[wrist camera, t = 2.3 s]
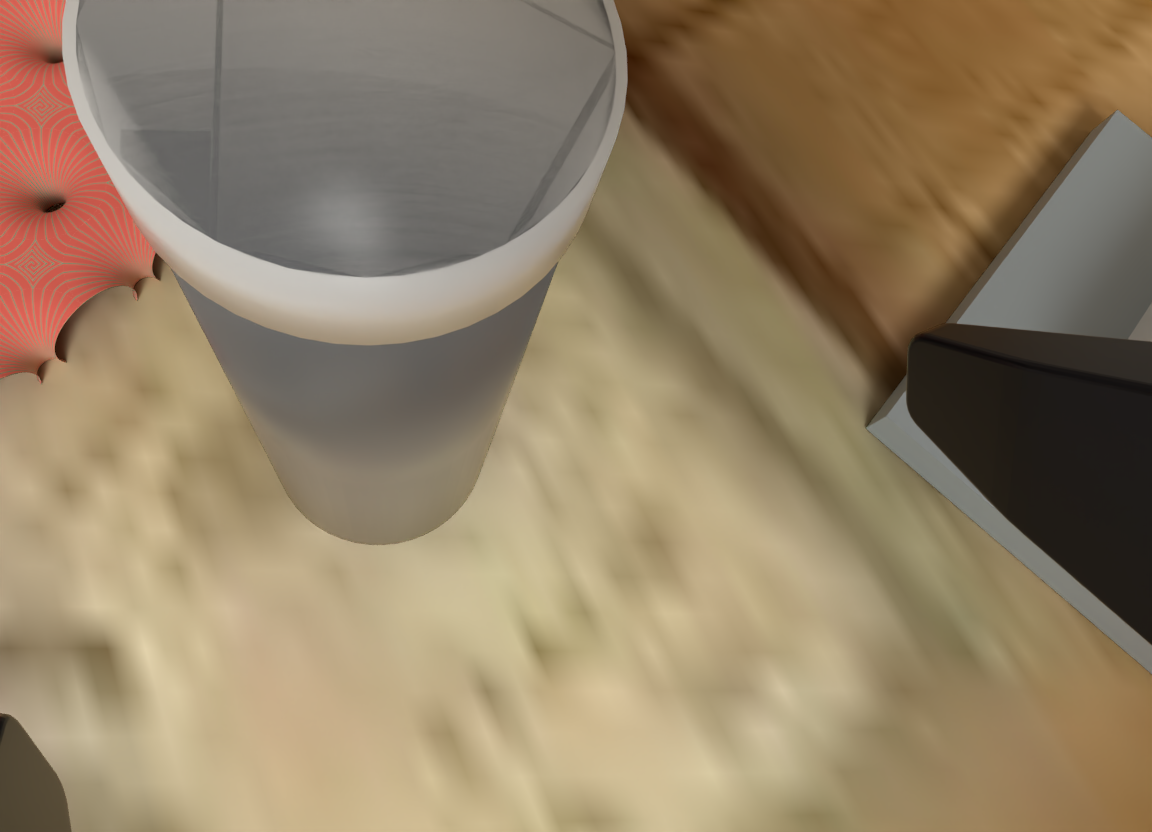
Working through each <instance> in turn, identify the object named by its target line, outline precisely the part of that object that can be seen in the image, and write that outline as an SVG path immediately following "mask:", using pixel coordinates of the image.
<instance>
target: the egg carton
mask: <svg viewBox="0 0 1152 832" xmlns="http://www.w3.org/2000/svg"><path fill="white" fill-rule="evenodd" d="M65 3H66V0H0V379H2V378H4V377H7V376H9V375H12V374H16V373H22V372H30V373H34V374H36V375H37V371H38V369H39V367H40V366H41V364H42V363H44V362H45V361H47V360H49V359H58V358H57V356H56V354H55V343H56V339H57V337H58V334H59V332H60V330H61V329H62V327H63V325H64V324H65V323H66V321H67V320H68V319H69V317H70V316H71V315H72V314H73V313H74V312H75V311H76V310H77V309H78V308H79V307H80V306H81V305H82V304H84V303H85V302H86V301H87V300H89V299H90V298H92V297H93V296H95V295H96V294H98V293H100V292H102V291H104V290H106V289H109V288H112V287H116V286H129V287H131V288H134V285H135V284H136V283H137V282H138V281H139V280H140V279H142V278H145V277H154V278H155V276H154V274H153V271H152V264H153V259H154V256H155V254H156V252H155V251H154V249H153V248H152V247H151V245H150V244H149V243H148V241H147V240H146V239H145V237H144V236H143V234H142V233H141V232H140V230H139V229H138V228H137V226H136V224H135V223H134V221H133V219H132V217H131V215H130V213H129V212H128V210H127V208H126V206H125V204H124V202H123V200H122V199H121V197H120V195H119V193H118V191H117V189H116V188H115V186H114V184H113V182H112V180H111V178H110V176H109V175H108V173H107V171H106V169H105V167H104V165H103V164H102V162H101V160H100V158H99V156H98V154H97V152H96V151H95V149H94V147H93V145H92V143H91V141H90V139H89V137H88V135H87V134H86V132H85V130H84V128H83V126H82V124H81V122H80V120H79V118H78V115H77V112H76V109H75V106H74V103H73V100H72V98H71V95H70V92H69V89H68V85H67V79H66V73H65V67H64V61H63V55H62V20H63V14H64V9H65ZM59 203H65V204H64V205H63V206H62V207H61V208H60V209H58V210H56V211H54V212H49V213H46V211H47V210H48V209H49V208H50V207H51V206H53V205H55V204H59ZM156 279H157V278H156ZM158 280H159V279H158ZM133 295H134V298H135V299H136V300H137V301H138V298H137V293H136V291H135V290H134V289H133ZM59 360H61V361H63V362H66V361H64V360H62V359H59ZM37 378H38V381H39V382H40V383H41V380H40V378H39V377H38V376H37ZM41 384H42V383H41Z"/></svg>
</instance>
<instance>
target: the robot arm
mask: <svg viewBox="0 0 1152 832" xmlns="http://www.w3.org/2000/svg"><path fill="white" fill-rule="evenodd" d="M906 405H907V409H908V412H909V414H910V416H911V418H912V420H913V421H914V423H915V424H916V425H917V426H918V427H919V428H920V429H921V430H922V431H923V433H924V434H925V435H926V436H927V437H928V438H929V439H930V440H931V441H932V442H933V443H934V444H935V445H936V446H937V447H938V448H939V449H940V450H941V451H942V453H943V454H944V455H945V456H946V457H947V458H948V459H949V460H950V461H951V462H952V463H953V464H954V465H955V466H956V467H957V468H958V469H959V470H960V472H961V473H962V474H963V475H964V476H965V477H966V478H967V479H968V480H969V481H970V482H971V483H972V484H973V485H974V486H975V487H976V488H977V489H978V491H979V492H980V493H981V494H982V495H983V496H984V497H985V498H986V499H987V500H988V501H989V502H990V503H991V504H992V505H993V506H994V507H995V508H996V509H997V510H998V511H999V512H1000V513H1001V514H1002V515H1003V516H1004V517H1005V518H1006V519H1007V520H1008V521H1009V522H1010V523H1011V524H1012V525H1013V526H1015V527H1016V528H1017V529H1018V530H1019V531H1020V532H1021V533H1022V534H1023V535H1025V536H1026V537H1027V538H1028V539H1029V540H1030V541H1031V542H1033V543H1034V544H1035V545H1036V546H1037V547H1038V548H1040V549H1041V550H1042V551H1043V552H1044V553H1045V554H1046V555H1048V556H1049V557H1050V558H1051V559H1052V560H1053V561H1055V562H1056V563H1057V564H1058V565H1059V566H1060V567H1061V568H1063V569H1064V570H1065V571H1066V572H1067V573H1068V574H1070V575H1071V576H1072V577H1073V578H1074V579H1075V580H1076V581H1078V582H1079V583H1080V584H1081V585H1082V586H1083V587H1085V588H1086V589H1087V590H1088V591H1089V592H1090V593H1091V594H1093V595H1094V596H1095V597H1096V598H1097V599H1098V600H1100V601H1101V602H1102V603H1103V604H1104V605H1105V606H1106V607H1108V608H1109V609H1110V610H1111V611H1112V612H1113V613H1115V614H1116V615H1117V616H1118V617H1119V618H1120V619H1121V620H1123V621H1124V622H1125V623H1126V624H1127V625H1128V626H1130V627H1131V628H1132V629H1133V630H1134V631H1135V632H1137V633H1138V634H1139V635H1140V636H1141V637H1142V638H1143V639H1145V640H1146V641H1147V642H1148V643H1149V644H1150V645H1152V342H1151V341H1140V340H1129V339H1119V338H1108V337H1097V336H1086V335H1076V334H1065V333H1054V332H1043V331H1032V330H1022V329H1011V328H1000V327H989V326H979V325H968V324H957V323H945V324H941V325H938V326H936V327H933V328H931V329H928V330H926V331H924V332H921V333H919V334H917V335H915V336H914V337H913V338H912V339H911V342H910V344H909V346H908V354H907V383H906ZM0 832H72V831H71V824H70V818H69V811H68V804H67V799H66V796H65V792H64V789H63V786H62V784H61V782H60V780H59V778H58V776H57V774H56V773H55V771H54V770H53V768H52V767H51V766H50V764H49V763H48V762H47V760H46V759H45V757H44V756H43V755H42V753H41V752H40V750H39V749H38V748H37V746H36V745H35V744H34V742H33V741H32V739H31V738H30V737H29V735H28V734H27V733H26V731H25V730H24V728H23V727H22V726H21V724H20V723H19V722H18V721H17V720H16V719H15V718H13V717H12V716H11V715H9V714H2V713H0Z"/></svg>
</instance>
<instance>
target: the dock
mask: <svg viewBox="0 0 1152 832" xmlns="http://www.w3.org/2000/svg"><path fill="white" fill-rule="evenodd" d="M946 323H957V324H968V325H979V326H989V327H1000V328H1011V329H1022V330H1032V331H1043V332H1054V333H1065V334H1076V335H1086V336H1097V337H1108V338H1119V339H1129V340H1140V341H1151V342H1152V138H1151V137H1150V136H1149V135H1148V134H1147V133H1145V132H1144V131H1143V130H1142V129H1140V128H1139V127H1138V126H1137V125H1136V124H1134V123H1133V122H1132V121H1131V120H1129V119H1128V118H1127V117H1126V116H1125V115H1123V114H1122V113H1121V112H1120V111H1118V110H1116V111H1115V112H1114V113H1113V114H1112V115H1110V116H1109V117H1108V118H1107V119H1106V120H1104V121H1103V122H1102V123H1101V124H1099V125H1098V126H1097V127H1096V128H1095V129H1093V130H1092V131H1091V132H1090V134H1089V135H1088V136H1087V138H1086V139H1085V140H1084V142H1083V143H1082V144H1081V146H1080V147H1079V148H1078V150H1077V151H1076V152H1075V153H1074V155H1073V156H1072V157H1071V159H1070V160H1069V161H1068V163H1067V164H1066V165H1065V167H1064V168H1063V169H1062V171H1061V172H1060V173H1059V175H1058V176H1057V177H1056V178H1055V180H1054V181H1053V182H1052V184H1051V185H1050V186H1049V188H1048V189H1047V190H1046V192H1045V193H1044V194H1043V196H1042V197H1041V198H1040V200H1039V201H1038V202H1037V203H1036V205H1035V206H1034V207H1033V209H1032V210H1031V211H1030V213H1029V214H1028V215H1027V217H1026V218H1025V219H1024V221H1023V222H1022V223H1021V225H1020V226H1019V227H1018V228H1017V230H1016V231H1015V232H1014V234H1013V235H1012V236H1011V238H1010V239H1009V240H1008V242H1007V243H1006V244H1005V246H1004V247H1003V248H1002V250H1001V251H1000V252H999V253H998V255H997V256H996V257H995V259H994V260H993V261H992V263H991V264H990V265H989V267H988V268H987V269H986V271H985V272H984V273H983V275H982V276H981V277H980V278H979V280H978V281H977V282H976V284H975V285H974V286H973V288H972V289H971V290H970V292H969V293H968V294H967V296H966V297H965V298H964V300H963V301H962V302H961V303H960V305H959V306H958V307H957V309H956V310H955V311H954V313H953V314H952V315H951V317H950V318H949V319H948V321H947V322H946ZM906 383H907V374H906V376H905V377H904V378H903V380H902V381H901V382H900V384H899V385H898V386H897V388H896V389H895V390H894V392H893V393H892V394H891V396H890V397H889V398H888V399H887V401H886V402H885V403H884V405H883V406H882V407H881V409H880V410H879V411H878V413H877V414H876V415H875V417H874V418H873V419H872V421H871V422H870V423H869V424H868V426H867V427H866V429H867V430H868V431H869V432H871V433H872V434H873V435H874V436H875V437H876V438H878V439H879V440H880V441H881V442H882V443H883V444H885V445H886V446H887V447H888V448H889V449H890V450H892V451H893V452H894V453H895V454H896V455H897V456H899V457H900V458H901V459H902V460H903V461H904V462H906V463H907V464H908V465H909V466H910V467H911V468H913V469H914V470H915V471H916V472H917V473H918V474H920V475H921V476H922V477H923V478H924V479H925V480H927V481H928V482H929V483H930V484H931V485H932V486H933V487H935V488H936V489H937V490H938V491H939V492H940V493H942V494H943V495H944V496H945V497H946V498H947V499H949V500H950V501H951V502H952V503H953V504H954V505H956V506H957V507H958V508H959V509H960V510H961V511H963V512H964V513H965V514H966V515H967V516H968V517H970V518H971V519H972V520H973V521H974V522H975V523H977V524H978V525H979V526H980V527H981V528H982V529H984V530H985V531H986V532H987V533H988V534H989V535H991V536H992V537H993V538H994V539H995V540H996V541H997V542H999V543H1000V544H1001V545H1002V546H1003V547H1004V548H1006V549H1007V550H1008V551H1009V552H1010V553H1011V554H1013V555H1014V556H1015V557H1016V558H1017V559H1018V560H1020V561H1021V562H1022V563H1023V564H1024V565H1025V566H1027V567H1028V568H1029V569H1030V570H1031V571H1032V572H1034V573H1035V574H1036V575H1037V576H1038V577H1039V578H1041V579H1042V580H1043V581H1044V582H1045V583H1046V584H1048V585H1049V586H1050V587H1051V588H1052V589H1053V590H1055V591H1056V592H1057V593H1058V594H1059V595H1060V596H1061V597H1063V598H1064V599H1065V600H1066V601H1067V602H1068V603H1070V604H1071V605H1072V606H1073V607H1074V608H1075V609H1077V610H1078V611H1079V612H1080V613H1081V614H1082V615H1084V616H1085V617H1086V618H1087V619H1088V620H1089V621H1091V622H1092V623H1093V624H1094V625H1095V626H1096V627H1098V628H1099V629H1100V630H1101V631H1102V632H1103V633H1105V634H1106V635H1107V636H1108V637H1109V638H1110V639H1112V640H1113V641H1114V642H1115V643H1116V644H1117V645H1119V646H1120V647H1121V648H1122V649H1123V650H1124V651H1125V652H1127V653H1128V654H1129V655H1130V656H1131V657H1132V658H1134V659H1135V660H1136V661H1137V662H1138V663H1139V664H1141V665H1142V666H1143V667H1144V668H1145V669H1146V670H1148V671H1149V672H1150V673H1151V674H1152V645H1150V644H1149V643H1148V642H1147V641H1146V640H1145V639H1143V638H1142V637H1141V636H1140V635H1139V634H1138V633H1137V632H1135V631H1134V630H1133V629H1132V628H1131V627H1130V626H1128V625H1127V624H1126V623H1125V622H1124V621H1123V620H1121V619H1120V618H1119V617H1118V616H1117V615H1116V614H1115V613H1113V612H1112V611H1111V610H1110V609H1109V608H1108V607H1106V606H1105V605H1104V604H1103V603H1102V602H1101V601H1100V600H1098V599H1097V598H1096V597H1095V596H1094V595H1093V594H1091V593H1090V592H1089V591H1088V590H1087V589H1086V588H1085V587H1083V586H1082V585H1081V584H1080V583H1079V582H1078V581H1076V580H1075V579H1074V578H1073V577H1072V576H1071V575H1070V574H1068V573H1067V572H1066V571H1065V570H1064V569H1063V568H1061V567H1060V566H1059V565H1058V564H1057V563H1056V562H1055V561H1053V560H1052V559H1051V558H1050V557H1049V556H1048V555H1046V554H1045V553H1044V552H1043V551H1042V550H1041V549H1040V548H1038V547H1037V546H1036V545H1035V544H1034V543H1033V542H1031V541H1030V540H1029V539H1028V538H1027V537H1026V536H1025V535H1023V534H1022V533H1021V532H1020V531H1019V530H1018V529H1017V528H1016V527H1015V526H1013V525H1012V524H1011V523H1010V522H1009V521H1008V520H1007V519H1006V518H1005V517H1004V516H1003V515H1002V514H1001V513H1000V512H999V511H998V510H997V509H996V508H995V507H994V506H993V505H992V504H991V503H990V502H989V501H988V500H987V499H986V498H985V497H984V496H983V495H982V494H981V493H980V492H979V491H978V489H977V488H976V487H975V486H974V485H973V484H972V483H971V482H970V481H969V480H968V479H967V478H966V477H965V476H964V475H963V474H962V473H961V472H960V470H959V469H958V468H957V467H956V466H955V465H954V464H953V463H952V462H951V461H950V460H949V459H948V458H947V457H946V456H945V455H944V454H943V453H942V451H941V450H940V449H939V448H938V447H937V446H936V445H935V444H934V443H933V442H932V441H931V440H930V439H929V438H928V437H927V436H926V435H925V434H924V433H923V431H922V430H921V429H920V428H919V427H918V426H917V425H916V424H915V423H914V421H913V420H912V418H911V416H910V414H909V412H908V409H907V405H906Z"/></svg>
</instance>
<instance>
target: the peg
mask: <svg viewBox="0 0 1152 832" xmlns="http://www.w3.org/2000/svg"><path fill="white" fill-rule="evenodd" d="M62 55H63V61H64V67H65V73H66V79H67V85H68V89H69V92H70V95H71V98H72V100H73V103H74V106H75V109H76V112H77V115H78V118H79V120H80V122H81V124H82V126H83V128H84V130H85V132H86V134H87V135H88V137H89V139H90V141H91V143H92V145H93V147H94V149H95V151H96V152H97V154H98V156H99V158H100V160H101V162H102V164H103V165H104V167H105V169H106V171H107V173H108V175H109V176H110V178H111V180H112V182H113V184H114V186H115V188H116V189H117V191H118V193H119V195H120V197H121V199H122V200H123V202H124V204H125V206H126V208H127V210H128V212H129V213H130V215H131V217H132V219H133V221H134V223H135V224H136V226H137V228H138V229H139V230H140V232H141V233H142V234H143V236H144V237H145V239H146V240H147V241H148V243H149V244H150V245H151V247H152V248H153V249H154V251H155V252H156V253H157V254H158V255H159V256H160V257H161V258H162V259H163V260H164V261H165V262H166V263H167V264H168V265H169V266H170V267H171V269H172V271H173V273H174V275H175V277H176V279H177V281H178V283H179V285H180V287H181V289H182V291H183V293H184V295H185V297H186V298H187V300H188V302H189V304H190V306H191V308H192V310H193V312H194V314H195V316H196V318H197V320H198V322H199V324H200V326H201V328H202V330H203V332H204V333H205V335H206V337H207V339H208V341H209V343H210V345H211V347H212V349H213V351H214V353H215V355H216V357H217V359H218V361H219V363H220V365H221V367H222V368H223V370H224V372H225V374H226V376H227V378H228V380H229V382H230V384H231V386H232V388H233V390H234V392H235V394H236V396H237V398H238V400H239V402H240V403H241V405H242V407H243V409H244V411H245V413H246V415H247V417H248V419H249V421H250V423H251V425H252V427H253V429H254V431H255V433H256V435H257V437H258V438H259V440H260V442H261V444H262V446H263V448H264V450H265V452H266V454H267V456H268V458H269V460H270V462H271V464H272V466H273V468H274V470H275V472H276V473H277V475H278V477H279V479H280V481H281V483H282V485H283V487H284V489H285V491H286V493H287V495H288V496H289V498H290V499H291V501H292V502H293V503H294V505H295V506H296V508H297V509H298V510H299V511H300V512H301V513H302V514H303V515H304V516H305V517H306V518H307V519H308V520H310V521H311V522H312V523H313V524H315V525H316V526H317V527H319V528H321V529H322V530H324V531H326V532H327V533H329V534H332V535H334V536H336V537H339V538H341V539H344V540H348V541H351V542H355V543H361V544H368V545H387V544H396V543H401V542H405V541H409V540H412V539H415V538H418V537H420V536H423V535H425V534H427V533H429V532H431V531H432V530H434V529H436V528H438V527H439V526H440V525H442V524H443V523H444V522H446V521H447V520H448V519H449V518H451V517H452V516H453V515H454V514H455V513H456V512H457V511H458V510H459V508H460V507H461V506H462V505H463V504H464V502H465V501H466V500H467V498H468V496H469V495H470V493H471V492H472V490H473V488H474V486H475V483H476V481H477V479H478V476H479V474H480V471H481V468H482V466H483V463H484V460H485V458H486V455H487V452H488V449H489V447H490V444H491V441H492V439H493V436H494V433H495V431H496V428H497V425H498V422H499V420H500V417H501V414H502V412H503V409H504V406H505V404H506V401H507V398H508V396H509V393H510V390H511V387H512V385H513V382H514V379H515V377H516V374H517V371H518V369H519V366H520V363H521V360H522V358H523V355H524V352H525V350H526V347H527V344H528V342H529V339H530V336H531V334H532V331H533V328H534V325H535V323H536V320H537V317H538V315H539V312H540V309H541V307H542V304H543V301H544V298H545V296H546V293H547V290H548V288H549V285H550V282H551V280H552V277H553V274H554V272H555V269H556V266H557V263H558V261H559V260H560V259H561V257H562V256H563V255H564V253H565V252H566V250H567V249H568V247H569V246H570V244H571V242H572V241H573V239H574V238H575V236H576V235H577V233H578V231H579V229H580V227H581V225H582V222H583V220H584V218H585V216H586V213H587V211H588V209H589V207H590V204H591V202H592V199H593V197H594V194H595V191H596V189H597V186H598V184H599V181H600V179H601V176H602V174H603V171H604V169H605V166H606V163H607V161H608V158H609V156H610V153H611V151H612V148H613V146H614V143H615V141H616V138H617V134H618V131H619V127H620V123H621V120H622V116H623V113H624V108H625V99H626V91H627V82H628V77H627V52H626V46H625V41H624V36H623V30H622V25H621V21H620V18H619V15H618V12H617V9H616V6H615V3H614V0H66V3H65V9H64V14H63V20H62Z"/></svg>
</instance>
